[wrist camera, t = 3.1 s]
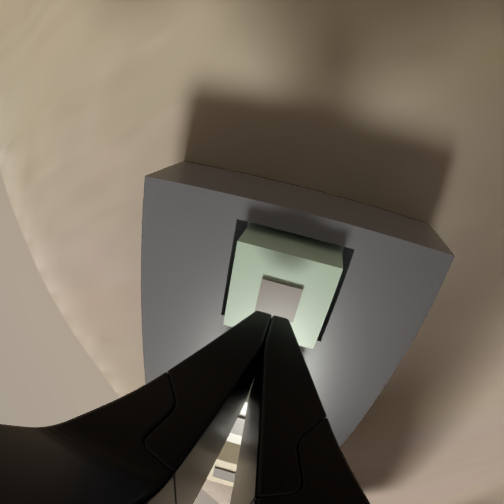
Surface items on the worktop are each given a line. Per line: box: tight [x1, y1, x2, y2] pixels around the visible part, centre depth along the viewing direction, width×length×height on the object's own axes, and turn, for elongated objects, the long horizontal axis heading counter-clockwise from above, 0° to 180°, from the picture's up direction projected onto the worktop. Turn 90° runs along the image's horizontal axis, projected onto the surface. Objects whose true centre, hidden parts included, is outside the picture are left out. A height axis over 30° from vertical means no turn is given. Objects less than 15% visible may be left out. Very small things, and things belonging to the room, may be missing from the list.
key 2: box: [207, 441, 241, 487], centre depth 14 cm, size 3×3×3 cm
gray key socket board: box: [141, 161, 454, 447], centre depth 14 cm, size 15×10×3 cm, turn 170°
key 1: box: [223, 222, 343, 349], centre depth 11 cm, size 3×3×3 cm
